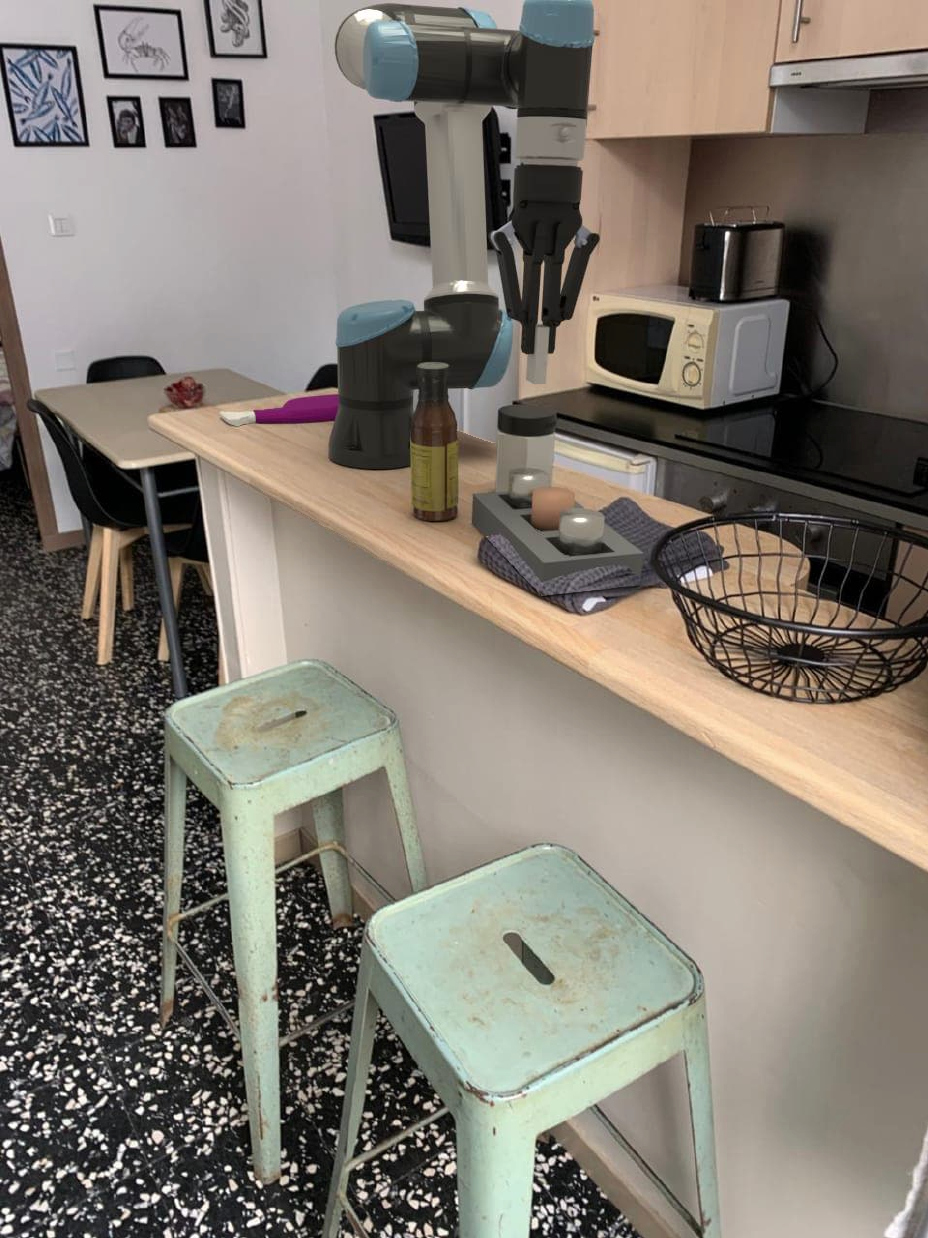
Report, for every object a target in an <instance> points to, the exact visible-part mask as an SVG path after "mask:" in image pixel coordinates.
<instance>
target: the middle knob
mask: <svg viewBox="0 0 928 1238" xmlns="http://www.w3.org/2000/svg"><path fill="white" fill-rule="evenodd" d="M575 499H576V493H575V492H574V491H572V490H570V489H568V488H565V487H561V486H560V487H559V486H551V487H542V488H537V489H535V490H534V491H533V497H532V512H531V526H532V527H533V528H535V529H537V530H540V531H553V530H558V528H559V516H560V512H561V511H563V510H566V509H571V508H574V501H576V500H575Z"/></svg>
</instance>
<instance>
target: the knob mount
mask: <svg viewBox="0 0 928 1238" xmlns="http://www.w3.org/2000/svg"><path fill="white" fill-rule="evenodd" d="M471 502H472V503H471V505H472V506H471V524H472V525H473V527H475V529H477V531H479V533H480V534H481V535H482V536H483V537H484V538H485V537H486V536H491V535H499V534H501V535H502V536H503V537H505V538H506V539H507V540H508V541H509V542H510V544H511V545H512V546H513V548H514V549H515V550H516V552H517V553H518V554H519V556H520V557H521V558H522V560H523V561H525V563H527V565H528V566H529V567H530V568H531V569H532V570H533V572H534V573H535V575H536V576H537V577H538V578H539V579H540V581H541V582H542V583H543V582H545V581H548V580H550V579H552V578H556V577H559V576H562V575H563V576H564V575H569V574H572V573H575V572H577V571H583V570H588V569H591V568H592V569H593V568H596V567H602V566H609V565H612V566H613V565H625V566H629V567H630V568H631V569H630V570H632V571H630V572H632V573H630V574H635V575H636V576H639V577H641V578H642V572H643V571H642V570H643V563H644V552H643V551H642V550H641V549H639V548H638V547H636V546H635V545H634V544H633V543H631V542H630V541H629V540H627V538H625V537H624V536H622V535H620V533H618V532H617V531H616V530H614V529H613V528H612V527H610V526H609V525H608V524H606V523H605V522H604V529H603V539H602V549H601V553H600V554H591V555H581V556H570V557H565V556H564V555H563V554H562V553H561V552H560V551H559V550H558V549H557V541H558V530H553V531H542V532H538V531H537V530H536V529H535V528H533V527H532V526H531V512H532V508H529V509H515V508H512V507H510V506H509V505H508V491H506V492H495V491H494V492H482V493H479V492H478V493H472V501H471ZM574 508H585V507H584V506H583V505H582V504H580V503H579V502H578V501H576V500H575V501H574Z"/></svg>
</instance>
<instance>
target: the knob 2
mask: <svg viewBox="0 0 928 1238" xmlns="http://www.w3.org/2000/svg"><path fill="white" fill-rule="evenodd" d="M605 517H606V516H605V514H603V513H602V512H600V511H598V510H596V509H589V508H585V507H584V508H571V509H566V510H563V511H561V512H560V516H559V528H558V541H557V549H558V550H559V551H560V552H561V553H563V554H565V555H569V556H581V555H591V554H600V553H601V549H602V539H603V529H604V523H605Z"/></svg>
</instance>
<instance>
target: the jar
mask: <svg viewBox="0 0 928 1238" xmlns="http://www.w3.org/2000/svg"><path fill="white" fill-rule="evenodd" d="M557 420H558V419H557V412H556V411H555V409H552V408H550V407H547V406H543V405H537V404H522V403H521V404H520V403H519V404H508V405H504V406H501V407H500V408H498V410H497V426H496V427H497V430H496V431H497V434H496V435H497V436H496V455H495V456H496V457H495V474H494V475H495V477H494V492H506V491H508V485H509V472H510V471H511V470H514V469H518V468H534V469H540V470H543V471H546V472H547V473H548V474H549V481H548V487H553V486H552V485H553V473H554V472H553V471H554V462H555V446H556V443H555V442H556V433H555V431H556V426H557V422H558V421H557Z"/></svg>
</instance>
